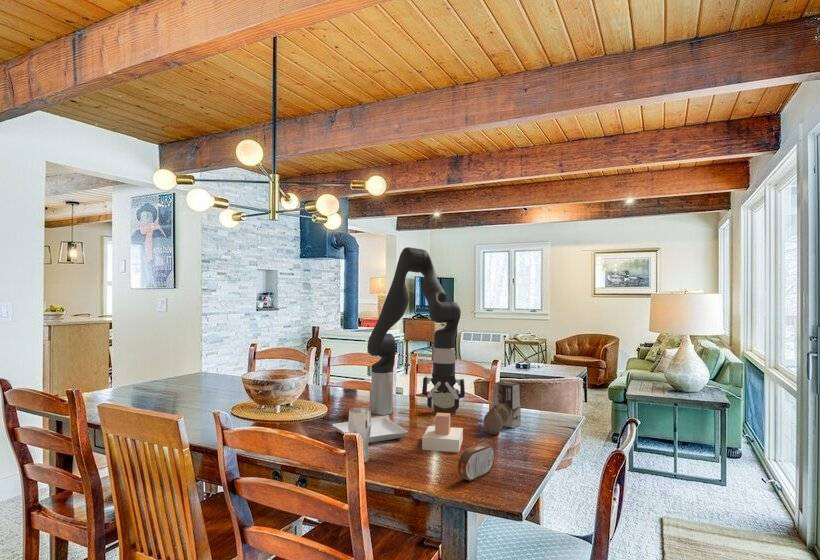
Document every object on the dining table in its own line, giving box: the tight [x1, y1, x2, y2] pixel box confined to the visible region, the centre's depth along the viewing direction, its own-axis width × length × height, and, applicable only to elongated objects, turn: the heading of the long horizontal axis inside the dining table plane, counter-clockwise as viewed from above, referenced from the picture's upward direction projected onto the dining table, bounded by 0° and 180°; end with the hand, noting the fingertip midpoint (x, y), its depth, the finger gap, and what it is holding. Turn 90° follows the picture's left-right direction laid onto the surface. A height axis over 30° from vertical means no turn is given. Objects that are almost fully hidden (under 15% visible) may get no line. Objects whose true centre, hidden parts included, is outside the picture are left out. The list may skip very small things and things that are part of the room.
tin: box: [457, 442, 496, 482], centre depth 138 cm, size 15×3×8 cm, turn 137°
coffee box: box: [492, 380, 522, 429], centre depth 192 cm, size 9×6×16 cm
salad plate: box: [332, 416, 409, 444], centre depth 175 cm, size 21×21×3 cm
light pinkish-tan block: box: [434, 413, 451, 435], centre depth 166 cm, size 4×4×6 cm
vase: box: [482, 407, 503, 435], centre depth 180 cm, size 7×7×9 cm
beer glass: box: [347, 407, 372, 463], centre depth 150 cm, size 7×7×15 cm
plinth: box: [421, 425, 464, 453], centre depth 166 cm, size 12×14×4 cm
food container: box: [432, 388, 460, 415], centre depth 211 cm, size 12×6×10 cm, turn 84°
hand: (443, 408), depth 166 cm, fingers open, 8 cm apart
